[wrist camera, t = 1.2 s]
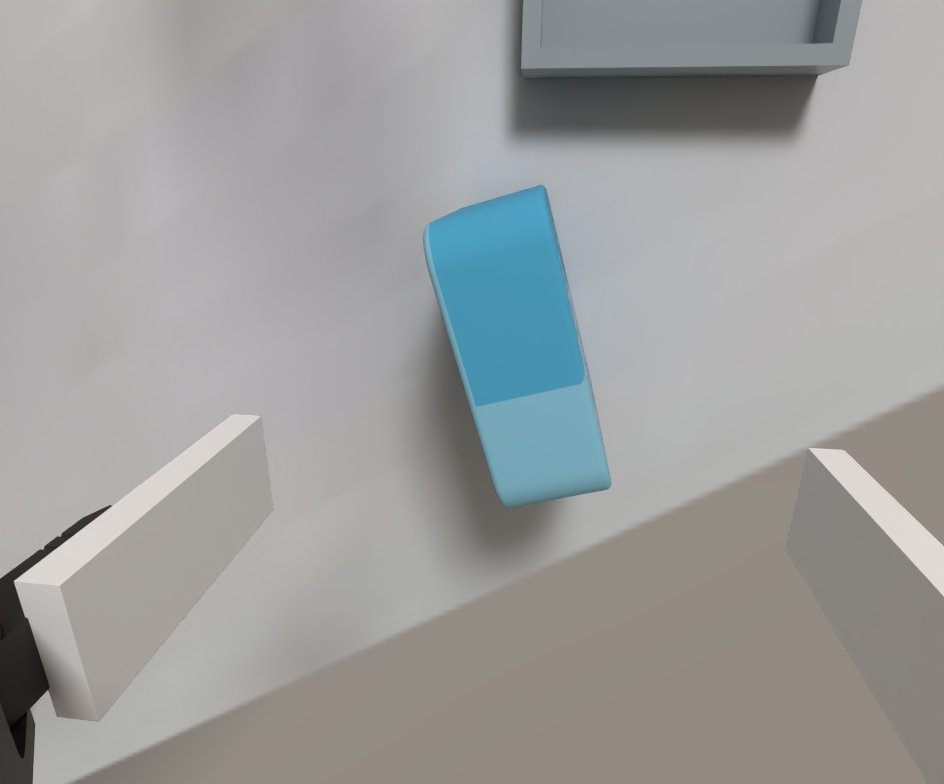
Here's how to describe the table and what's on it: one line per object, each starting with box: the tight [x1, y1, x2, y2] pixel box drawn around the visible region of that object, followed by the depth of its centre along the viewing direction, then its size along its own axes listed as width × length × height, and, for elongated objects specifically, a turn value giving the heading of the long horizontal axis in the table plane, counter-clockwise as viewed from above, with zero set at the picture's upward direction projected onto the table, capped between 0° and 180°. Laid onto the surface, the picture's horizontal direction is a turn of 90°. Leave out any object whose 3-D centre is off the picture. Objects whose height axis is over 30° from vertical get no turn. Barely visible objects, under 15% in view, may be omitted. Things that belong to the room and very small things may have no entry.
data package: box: [423, 185, 611, 507], centre depth 27 cm, size 12×4×12 cm, turn 16°
